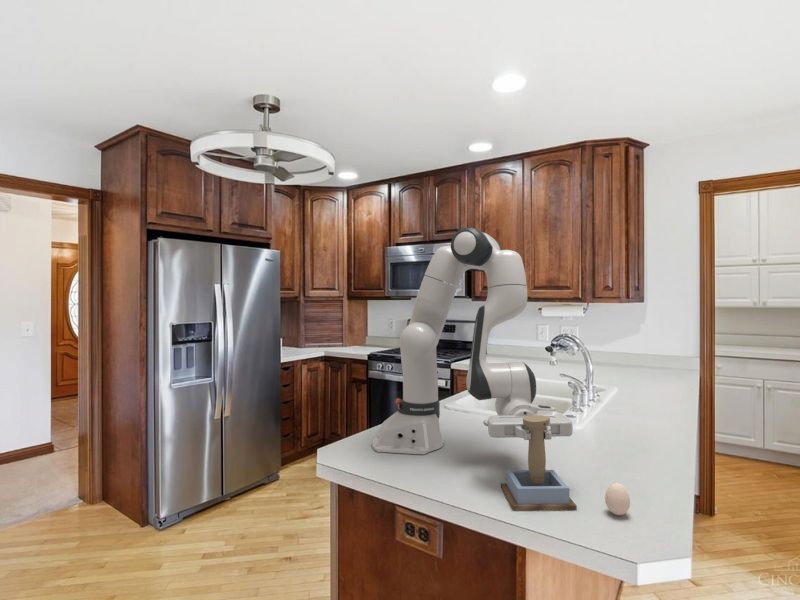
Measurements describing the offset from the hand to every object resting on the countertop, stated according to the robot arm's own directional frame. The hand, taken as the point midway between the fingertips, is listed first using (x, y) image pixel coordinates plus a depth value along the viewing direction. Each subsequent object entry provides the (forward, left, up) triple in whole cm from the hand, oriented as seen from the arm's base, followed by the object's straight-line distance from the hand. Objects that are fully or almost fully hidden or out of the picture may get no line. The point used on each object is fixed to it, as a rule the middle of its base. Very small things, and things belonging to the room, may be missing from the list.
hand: (538, 436), depth 104 cm
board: (0, +1, -15) cm, 15 cm away
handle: (0, +1, -11) cm, 11 cm away
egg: (+15, -7, -15) cm, 22 cm away
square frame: (0, +1, -15) cm, 15 cm away
